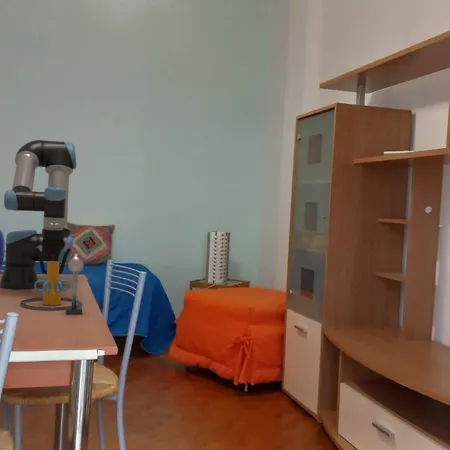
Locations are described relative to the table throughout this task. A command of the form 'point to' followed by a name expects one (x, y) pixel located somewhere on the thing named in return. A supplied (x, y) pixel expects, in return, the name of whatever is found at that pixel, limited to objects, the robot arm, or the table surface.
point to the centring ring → (46, 307)
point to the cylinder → (52, 285)
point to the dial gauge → (75, 283)
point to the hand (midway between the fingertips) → (51, 292)
